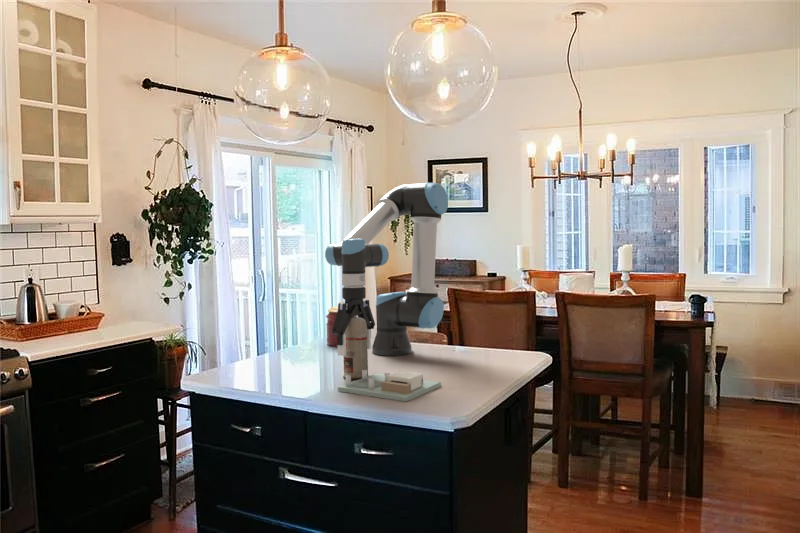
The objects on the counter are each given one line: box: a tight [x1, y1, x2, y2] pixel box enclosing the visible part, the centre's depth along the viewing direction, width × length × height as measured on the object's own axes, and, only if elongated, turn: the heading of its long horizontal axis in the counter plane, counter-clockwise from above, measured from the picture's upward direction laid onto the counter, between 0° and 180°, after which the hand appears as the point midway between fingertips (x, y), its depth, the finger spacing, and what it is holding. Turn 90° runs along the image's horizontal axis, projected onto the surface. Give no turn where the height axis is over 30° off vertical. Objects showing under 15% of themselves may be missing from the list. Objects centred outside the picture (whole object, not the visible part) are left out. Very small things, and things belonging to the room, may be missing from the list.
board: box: [337, 370, 442, 403], centre depth 198 cm, size 24×20×4 cm
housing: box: [388, 370, 424, 391], centre depth 194 cm, size 8×7×4 cm
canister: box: [325, 301, 358, 347], centre depth 273 cm, size 13×13×18 cm
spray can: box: [342, 316, 370, 380], centre depth 213 cm, size 8×8×20 cm
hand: (354, 351), depth 213 cm, fingers open, 13 cm apart
